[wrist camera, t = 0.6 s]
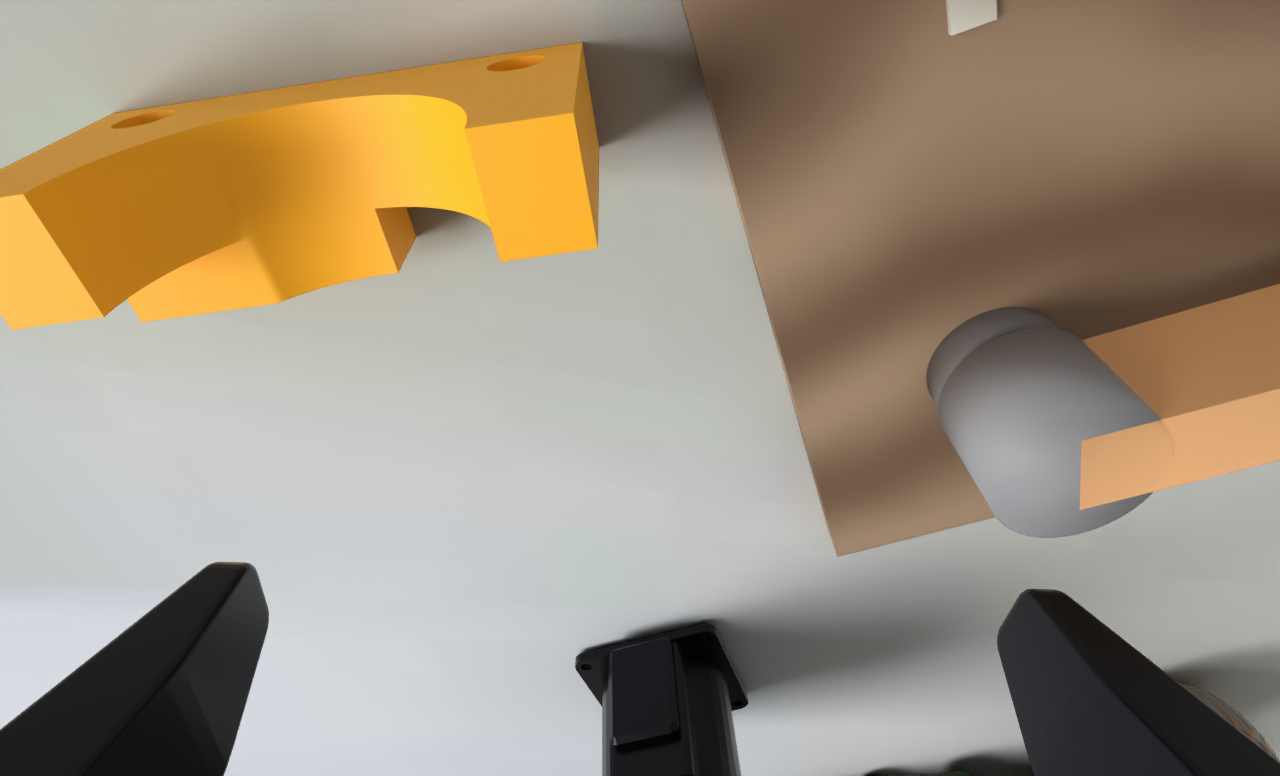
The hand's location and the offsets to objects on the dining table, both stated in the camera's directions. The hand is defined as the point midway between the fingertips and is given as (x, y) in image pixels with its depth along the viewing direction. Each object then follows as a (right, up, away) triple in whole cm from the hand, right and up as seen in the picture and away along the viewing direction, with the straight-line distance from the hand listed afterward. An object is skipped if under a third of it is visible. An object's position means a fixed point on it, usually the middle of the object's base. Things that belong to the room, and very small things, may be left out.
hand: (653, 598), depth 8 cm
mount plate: (+12, +7, +12) cm, 19 cm away
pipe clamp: (-7, +9, +11) cm, 16 cm away
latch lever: (+16, +4, +11) cm, 20 cm away
